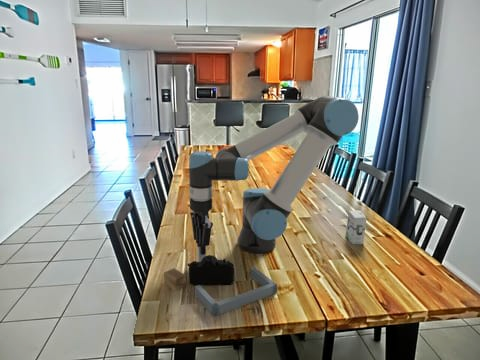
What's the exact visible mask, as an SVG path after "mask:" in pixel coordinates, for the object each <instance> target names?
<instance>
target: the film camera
mask: <svg viewBox="0 0 480 360" xmlns="http://www.w3.org/2000/svg"><path fill="white" fill-rule="evenodd" d="M187 267H188V284H189V285H191V286H194V287H195V286H197V285H200V286H201V287H204V286H207V287H208V286H209V287H210V286H212V287H213V286H215V287H217V286H220V287H221V286H232V285H233V284H234V282H235V264H234V263H233V262H231V261H230V260H227V259H225V258H223V259H218V258H217V257H216V256H214V255H211V254H208V255H207V254H206V256H205V257H203V258H202V260H201V262H197V260H194V261H193V260H192V261H191V262H190V263H187Z"/></svg>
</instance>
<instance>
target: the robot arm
mask: <svg viewBox="0 0 480 360" xmlns="http://www.w3.org/2000/svg"><path fill="white" fill-rule="evenodd" d="M358 110H359V109H358V107H357V106H356V105H355V103H354V102H353V101H352V100H350V99H347V98H345V97H342V96H337V97H336V96H330V95H329V96H328V95H324V96H320V97H317V98H315V99H314V100H312V101H310V102H307V103H306V104H304V105H302V106H301V107H299V108H296V109H295V111H294V113H293V114H292V115H291V114H290V115H289V116H287V117H286V118H284V119H282V120H280V121H278V122H276V123H274V124H272V125H270V126H269V127H266V128H264V129H263V130H261V131H259V132H257V133H255V134H253V135H252V136H249V137H247V138H246V139H243V140H242V141H240V142H237V143H236V144H234V145H232V146H230V147H228V148H221V149H219V150H218V151H217V152H216V154H215V157H213V153H211V152H210V151H203V150H201V151H200V150H197V151H192V152H191V153H190V155H188V156H189V158H188V159H189V160H188V161H189V162H188V177H189V178H188V182H189V190H188V193H189V210H191V212H190V213H189V214H190V218H191V225H192V226H191V227H192V235H193V240H194V241H195V243H196V262H201V260H202V258H203V257H205V256H207V247H208V246H210V242H211V234H212V229H213V225H214V223H213V222H212V221H210V215H209V211H211V210H212V208H213V198H212V197H213V182H218V181H220V182H221V181H224V182H225V181H229V182H230V181H233V182H234V181H236V182H238V181H246V180H247V179H248V177H249V173H250V167H249V161H251V160H253V159H254V158H257V157H259V156H260V155H263V154H264V153H267V152H268V151H270V150H273V149H274V148H276V147H278V146H280V145H282V144H284V143H286V142H287V141H290V140H291V139H293V138H296V137H297V136H299V135H301V134H303V133H305V134H307V135H306V136H305V137H304V139H303V140H302V142H301V143H300V145H299V147H298V148H297V149H296V151H295V153H294V154H293V156H292V157H291V158H290V160H289V162H288V163H287V164H286V166H285V168H284V169H283V171H282V172H281V174H280V175H279V177H278V178H277V180H276V181H275V182H274V184H273V186H272V188H271V189H269V188H261V187H259V188H258V187H256V188H255V187H254V188H247V189H245V190H243V193H242V226H241V229H240V232H239V235H238V237H237V246H238V248H239V249H241V250H242V251H244V252H247V253H251V254H264V253H269V252H271V251H273V250H274V249H275V248H276V243H277V241H276V239H278V238H280V237H281V236H282V235H283V234H284V233H285V231H286V229H287V226H288V220H287V219H288V217H289V216H290V214H291V213H292V211H293V209H292V203H293V202H294V201H295V199H296V197H297V196H298V194H299V193H300V192H301V191H302V189H303V188H304V186H305V184H306V183H307V182H308V180H309V178H310V177H311V176H312V173H313V172H314V171H315V169H316V168H317V167H318V165H319V164H320V162H321V161H322V159H323V158H324V156H325V154H326V153H327V152H328V150H329V148H330V147H331V146H335V145H338V144H339V142H340V140H341V139H342V137H343V136H347V135H349V134H351V133H352V132H353V131H354V130H355V128H356V127H357V125H358V123H359V111H358Z"/></svg>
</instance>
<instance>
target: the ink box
mask: <svg viewBox="0 0 480 360" xmlns="http://www.w3.org/2000/svg"><path fill="white" fill-rule="evenodd" d="M346 221H347V222H346V230H345V231H346V232H345V237H346V238H347V240H348V241H349V243H351V245H364V244H365V243H364V241H365V234H366V233H365V232H366V224H367V217H366V216H365V214H364V213H363V212H362V211H361V210H360V209H359V210H357V209H356V210H348V214H347V220H346Z"/></svg>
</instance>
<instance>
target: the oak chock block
mask: <svg viewBox="0 0 480 360" xmlns="http://www.w3.org/2000/svg"><path fill="white" fill-rule="evenodd" d="M163 283H164V284H165V285H166V286H167V287H169V288H170V289H171V290H174V292H175V291H178V290H180V289H183V288H185V287H186V286H187V282H186V274H184V273H183V272H181V271H180V270H178V269H176V268H175V267H173V268H171V269H168V270H167V271H164V272H163Z"/></svg>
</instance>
